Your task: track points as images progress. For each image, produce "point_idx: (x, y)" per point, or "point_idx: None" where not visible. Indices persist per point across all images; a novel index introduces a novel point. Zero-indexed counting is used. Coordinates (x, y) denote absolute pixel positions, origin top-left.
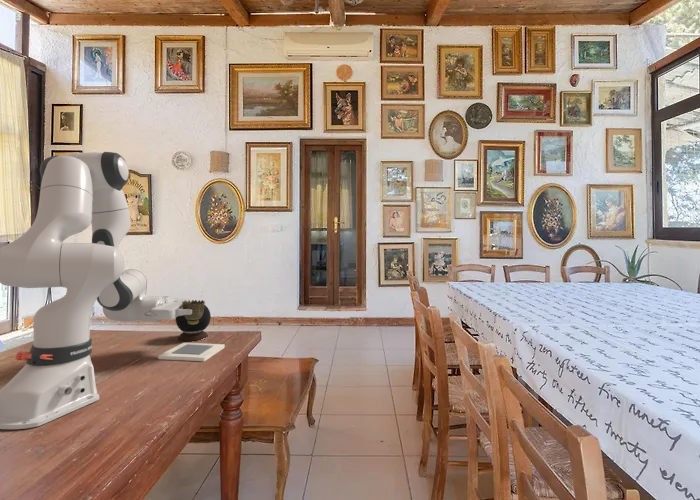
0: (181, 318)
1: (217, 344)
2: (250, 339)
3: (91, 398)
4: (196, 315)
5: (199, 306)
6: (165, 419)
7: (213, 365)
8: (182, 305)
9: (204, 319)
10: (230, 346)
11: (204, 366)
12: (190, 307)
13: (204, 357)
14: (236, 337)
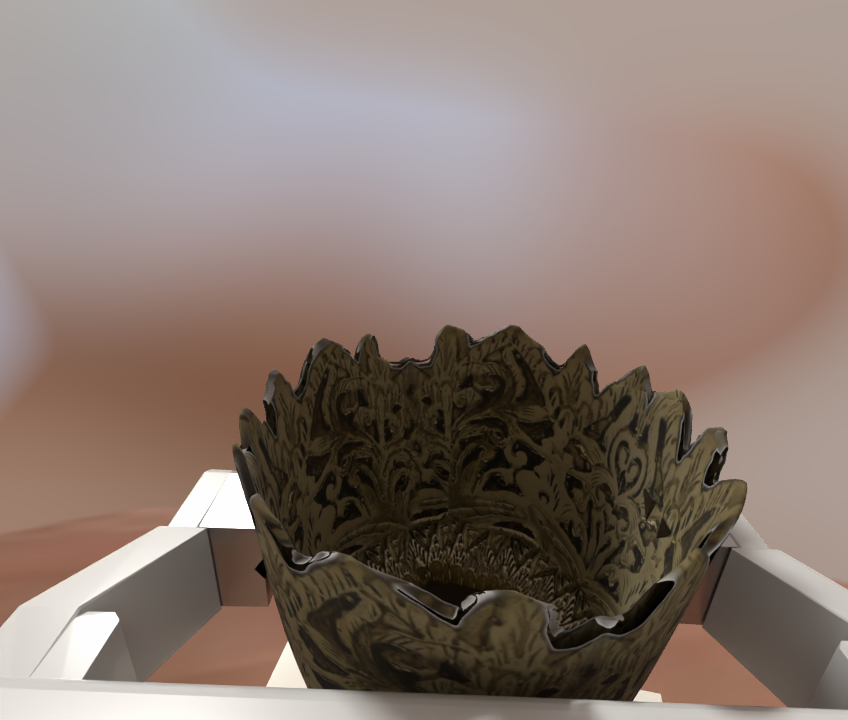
0: None
1: (283, 674)
2: (141, 519)
3: None
4: (569, 537)
5: (572, 397)
6: None
7: (702, 630)
8: (627, 645)
9: None
10: (275, 605)
11: (749, 682)
12: (680, 480)
13: (651, 694)
14: (12, 604)
